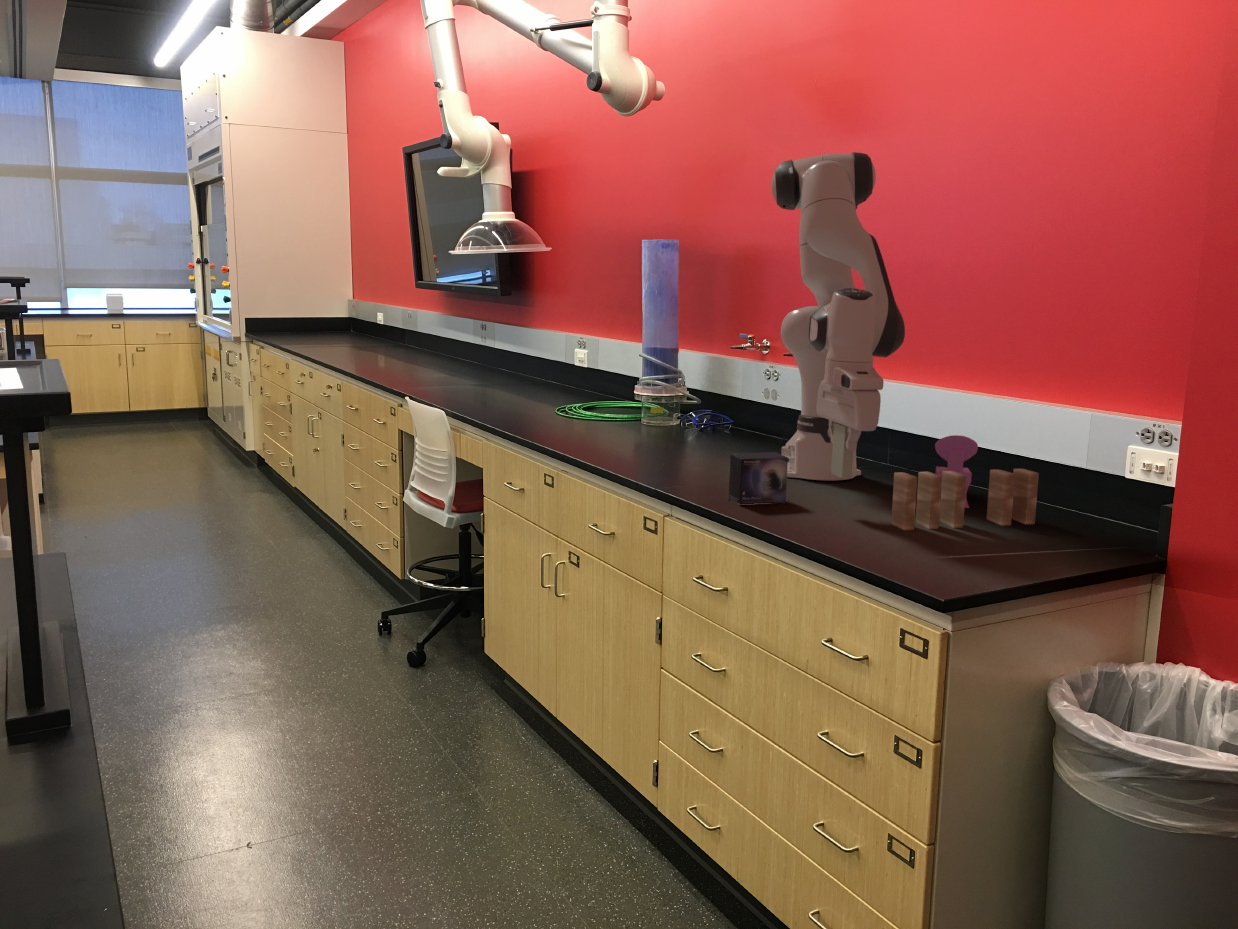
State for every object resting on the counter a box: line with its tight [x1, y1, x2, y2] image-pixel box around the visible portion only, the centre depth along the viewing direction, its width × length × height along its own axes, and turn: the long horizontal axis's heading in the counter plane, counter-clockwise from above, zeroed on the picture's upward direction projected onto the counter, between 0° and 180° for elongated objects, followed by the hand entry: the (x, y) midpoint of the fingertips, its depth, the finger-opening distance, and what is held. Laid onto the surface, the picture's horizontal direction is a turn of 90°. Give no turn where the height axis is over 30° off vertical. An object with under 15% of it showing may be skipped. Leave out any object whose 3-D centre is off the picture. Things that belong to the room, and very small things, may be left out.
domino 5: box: [986, 468, 1015, 527], centre depth 188 cm, size 2×5×10 cm, turn 12°
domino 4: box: [939, 471, 967, 529], centre depth 186 cm, size 2×5×10 cm, turn 12°
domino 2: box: [890, 471, 918, 531], centre depth 184 cm, size 2×5×10 cm, turn 12°
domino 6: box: [1011, 468, 1040, 525], centre depth 189 cm, size 2×5×10 cm, turn 12°
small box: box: [728, 451, 788, 504], centre depth 203 cm, size 11×6×10 cm, turn 106°
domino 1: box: [831, 423, 853, 479], centre depth 191 cm, size 2×5×10 cm, turn 12°
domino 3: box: [915, 471, 942, 530], centre depth 185 cm, size 2×5×10 cm, turn 12°
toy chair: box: [934, 435, 979, 509], centre depth 204 cm, size 8×9×15 cm
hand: (843, 446), depth 191 cm, fingers closed on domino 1, 5 cm apart
